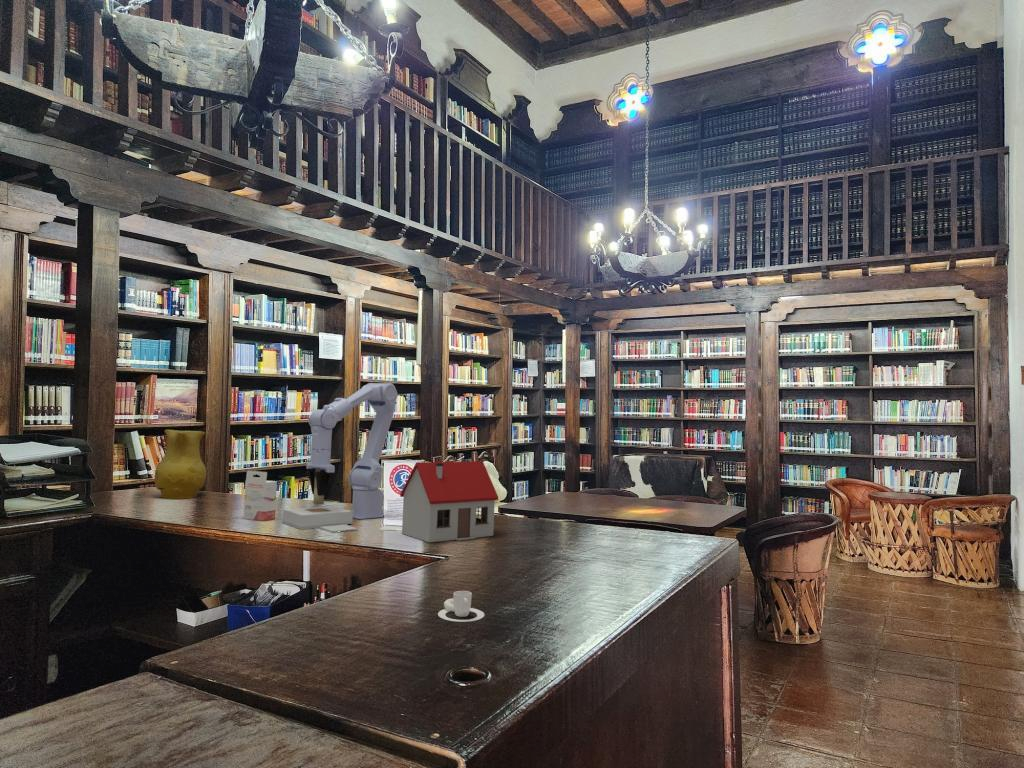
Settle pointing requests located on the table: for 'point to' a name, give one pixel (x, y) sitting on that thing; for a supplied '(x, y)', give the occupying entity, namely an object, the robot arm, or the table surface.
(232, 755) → the table surface
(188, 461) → the pitcher
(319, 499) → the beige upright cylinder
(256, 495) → the ink cartridge box
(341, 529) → the rest pad
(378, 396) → the robot arm
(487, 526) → the house model
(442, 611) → the teacup and saucer
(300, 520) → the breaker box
